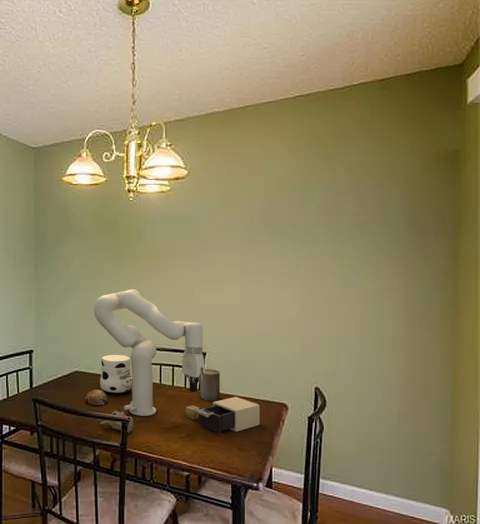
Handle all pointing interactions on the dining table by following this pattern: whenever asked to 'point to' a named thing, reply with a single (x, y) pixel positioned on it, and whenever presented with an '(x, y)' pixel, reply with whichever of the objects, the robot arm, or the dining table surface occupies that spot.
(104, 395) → the bread roll
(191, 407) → the block
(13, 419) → the dining table surface
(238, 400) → the cabinet
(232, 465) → the dining table surface
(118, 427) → the ceramic sculpture
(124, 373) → the milk container
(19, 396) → the dining table surface
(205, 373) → the pillar candle
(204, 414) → the drawer
